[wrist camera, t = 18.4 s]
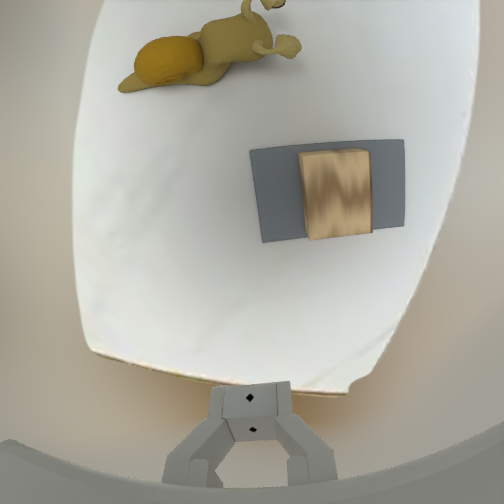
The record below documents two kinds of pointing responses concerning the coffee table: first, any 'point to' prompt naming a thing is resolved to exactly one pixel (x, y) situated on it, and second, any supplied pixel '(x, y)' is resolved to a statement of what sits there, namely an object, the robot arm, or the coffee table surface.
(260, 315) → the coffee table surface
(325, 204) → the slab
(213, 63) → the toy
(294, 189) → the mat
